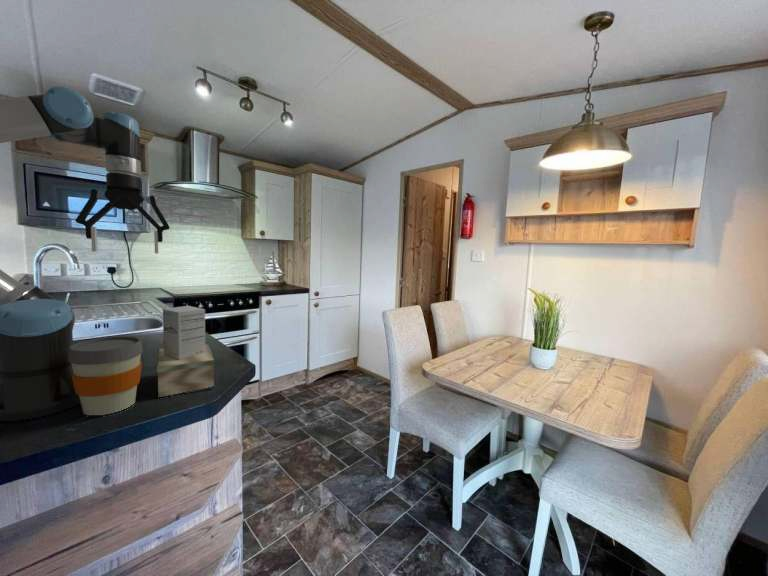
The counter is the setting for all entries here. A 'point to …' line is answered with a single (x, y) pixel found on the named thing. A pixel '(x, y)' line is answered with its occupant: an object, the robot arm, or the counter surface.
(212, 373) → the maple box
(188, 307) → the supplement box
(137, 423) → the counter surface
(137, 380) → the reusable coffee cup
